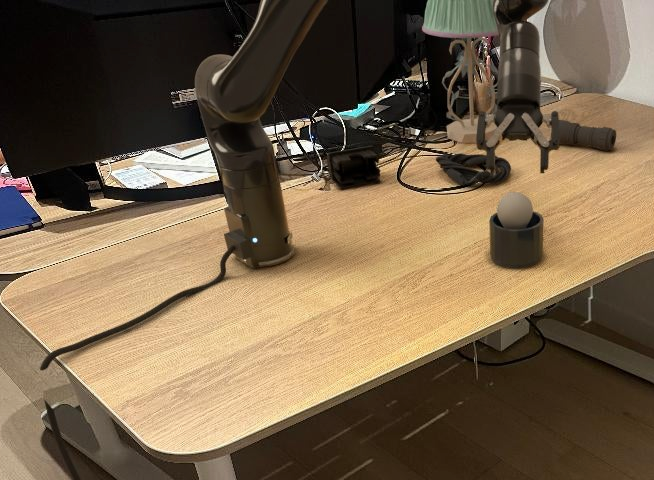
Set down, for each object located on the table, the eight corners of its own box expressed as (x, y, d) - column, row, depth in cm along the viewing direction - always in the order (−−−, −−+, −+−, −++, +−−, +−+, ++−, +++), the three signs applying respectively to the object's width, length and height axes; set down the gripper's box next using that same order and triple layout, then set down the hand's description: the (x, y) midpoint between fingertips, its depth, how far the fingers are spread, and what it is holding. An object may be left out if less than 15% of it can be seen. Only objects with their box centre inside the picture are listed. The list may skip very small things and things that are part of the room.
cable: (425, 170, 167) (424, 151, 165) (477, 157, 174) (476, 138, 171) (468, 193, 156) (468, 173, 154) (522, 178, 163) (522, 158, 160)
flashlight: (617, 147, 178) (619, 124, 175) (609, 154, 174) (611, 131, 171) (558, 138, 184) (558, 116, 180) (549, 145, 180) (549, 122, 177)
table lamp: (497, 118, 199) (494, -56, 175) (529, 142, 182) (531, -47, 159) (419, 128, 193) (405, -51, 169) (444, 154, 176) (433, -40, 153)
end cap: (373, 172, 167) (369, 141, 163) (383, 182, 162) (379, 151, 158) (329, 179, 164) (324, 149, 160) (338, 190, 159) (333, 159, 155)
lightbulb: (530, 245, 134) (531, 185, 128) (533, 260, 129) (534, 199, 123) (496, 246, 134) (495, 187, 127) (498, 261, 129) (497, 200, 123)
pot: (517, 273, 126) (517, 235, 122) (479, 257, 132) (478, 220, 128) (553, 255, 132) (554, 218, 128) (515, 240, 137) (515, 204, 133)
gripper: (476, 71, 127) (474, 161, 124) (560, 71, 126) (560, 161, 123) (479, 95, 134) (477, 180, 132) (559, 95, 133) (558, 180, 131)
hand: (517, 171), depth 127 cm, fingers open, 8 cm apart
